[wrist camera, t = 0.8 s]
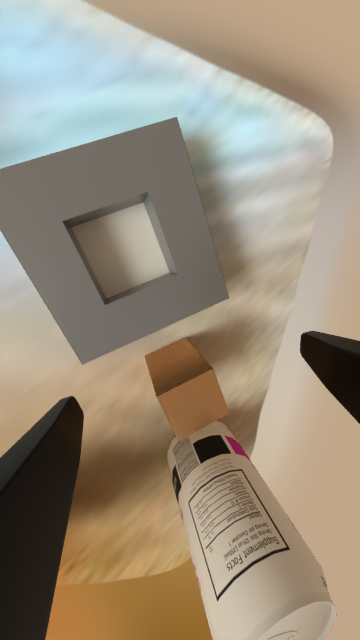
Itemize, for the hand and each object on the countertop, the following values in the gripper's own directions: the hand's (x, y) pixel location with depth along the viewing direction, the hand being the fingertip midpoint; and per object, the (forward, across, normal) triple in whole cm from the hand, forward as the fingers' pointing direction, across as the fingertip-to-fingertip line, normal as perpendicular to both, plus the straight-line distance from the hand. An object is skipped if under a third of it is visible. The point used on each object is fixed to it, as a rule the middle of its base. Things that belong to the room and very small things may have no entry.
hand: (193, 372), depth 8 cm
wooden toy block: (+12, +1, +8) cm, 15 cm away
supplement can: (+11, 0, +20) cm, 23 cm away
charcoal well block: (+13, +2, -3) cm, 14 cm away
